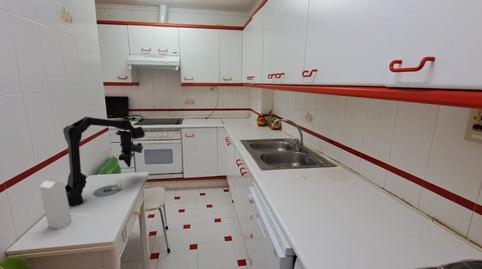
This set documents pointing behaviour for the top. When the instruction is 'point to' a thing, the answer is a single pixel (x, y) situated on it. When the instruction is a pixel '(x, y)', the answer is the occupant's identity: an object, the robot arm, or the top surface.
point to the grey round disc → (101, 192)
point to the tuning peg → (109, 188)
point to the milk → (55, 203)
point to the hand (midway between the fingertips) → (129, 166)
